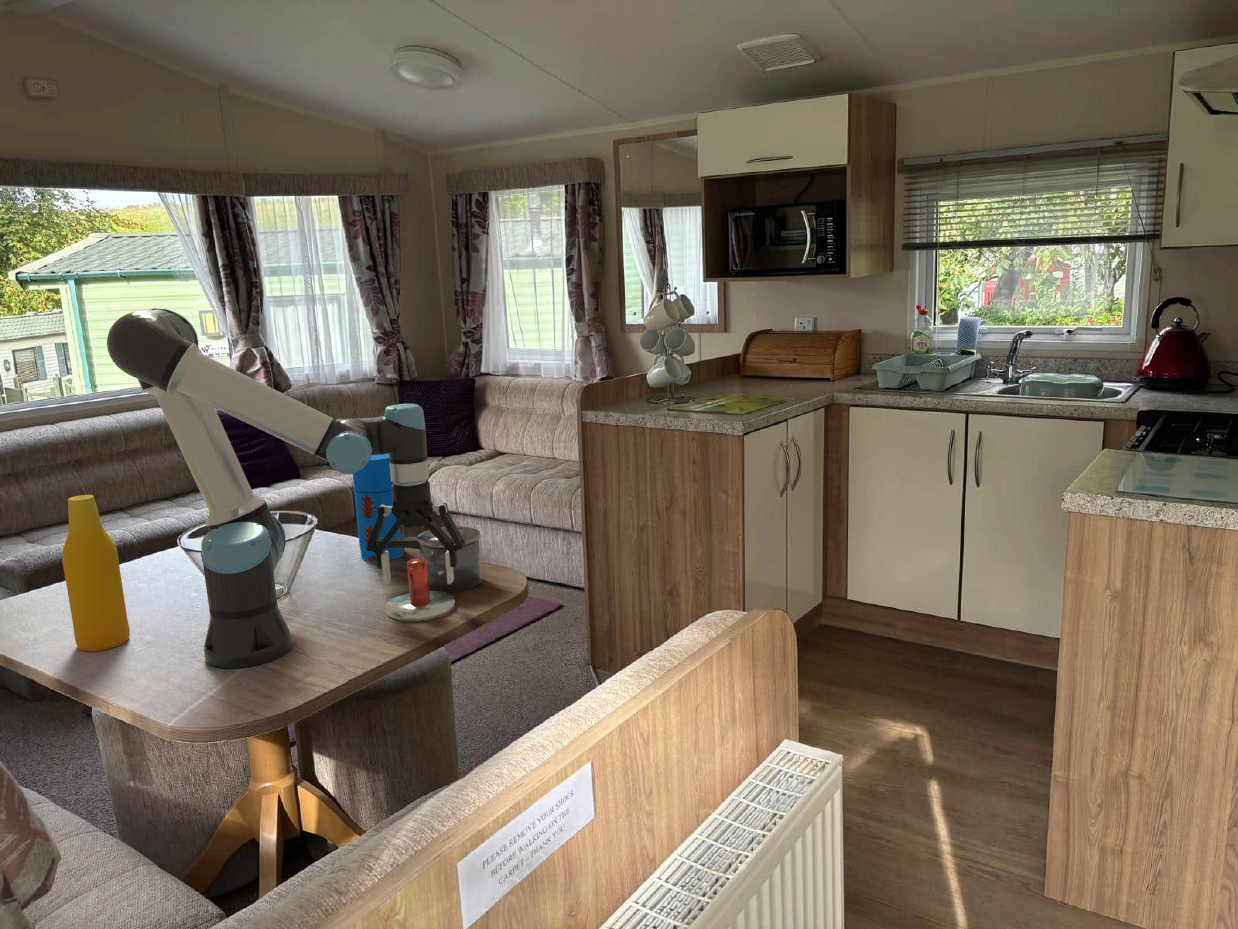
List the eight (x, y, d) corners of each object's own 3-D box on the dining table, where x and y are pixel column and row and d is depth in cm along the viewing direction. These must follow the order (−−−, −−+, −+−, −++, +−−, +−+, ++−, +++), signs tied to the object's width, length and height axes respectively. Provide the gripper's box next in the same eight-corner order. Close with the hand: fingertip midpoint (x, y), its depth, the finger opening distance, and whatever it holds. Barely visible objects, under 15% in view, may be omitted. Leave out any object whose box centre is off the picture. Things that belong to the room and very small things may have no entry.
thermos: (352, 561, 224) (343, 460, 219) (371, 547, 235) (363, 451, 229) (394, 562, 223) (386, 460, 217) (412, 548, 233) (404, 451, 227)
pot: (476, 592, 200) (473, 543, 198) (370, 594, 201) (365, 545, 199) (488, 571, 213) (485, 525, 211) (388, 573, 215) (384, 527, 212)
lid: (446, 622, 184) (442, 572, 182) (377, 622, 185) (372, 573, 183) (461, 597, 198) (458, 550, 196) (397, 598, 199) (393, 551, 197)
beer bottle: (65, 648, 177) (40, 501, 171) (109, 630, 185) (86, 490, 179) (98, 655, 173) (74, 505, 167) (141, 637, 181) (120, 493, 175)
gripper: (474, 475, 189) (481, 575, 193) (356, 478, 190) (365, 577, 195) (467, 484, 181) (474, 587, 186) (343, 487, 183) (354, 589, 187)
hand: (419, 582), depth 190 cm, fingers open, 12 cm apart
